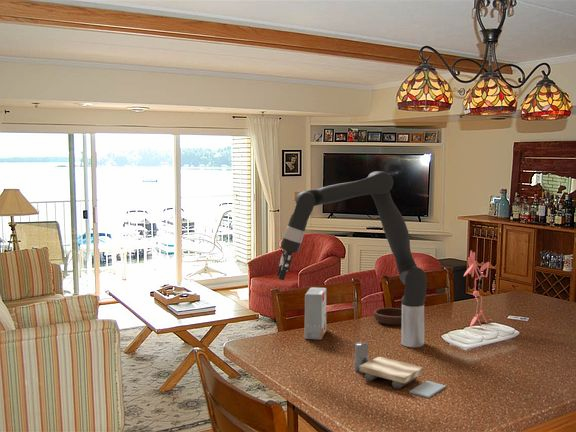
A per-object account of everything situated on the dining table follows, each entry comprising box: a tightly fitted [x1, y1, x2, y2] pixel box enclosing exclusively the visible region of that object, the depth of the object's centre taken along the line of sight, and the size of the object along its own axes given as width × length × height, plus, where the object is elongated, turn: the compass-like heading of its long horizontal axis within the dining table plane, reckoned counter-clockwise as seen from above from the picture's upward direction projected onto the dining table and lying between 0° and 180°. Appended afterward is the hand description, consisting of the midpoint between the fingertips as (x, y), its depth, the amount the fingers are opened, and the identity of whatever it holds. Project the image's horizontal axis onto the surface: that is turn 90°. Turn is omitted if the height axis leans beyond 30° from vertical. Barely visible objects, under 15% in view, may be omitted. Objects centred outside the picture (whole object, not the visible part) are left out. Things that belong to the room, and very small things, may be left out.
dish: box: [373, 307, 402, 326], centre depth 280 cm, size 17×22×5 cm
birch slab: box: [359, 356, 424, 390], centre depth 205 cm, size 13×18×5 cm
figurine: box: [455, 250, 492, 329], centre depth 274 cm, size 15×26×35 cm, turn 148°
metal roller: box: [354, 341, 370, 374], centre depth 215 cm, size 5×5×10 cm
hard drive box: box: [304, 286, 327, 341], centre depth 260 cm, size 16×8×20 cm, turn 168°
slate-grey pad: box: [409, 380, 447, 399], centre depth 197 cm, size 12×7×1 cm, turn 138°
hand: (280, 277), depth 234 cm, fingers open, 8 cm apart
